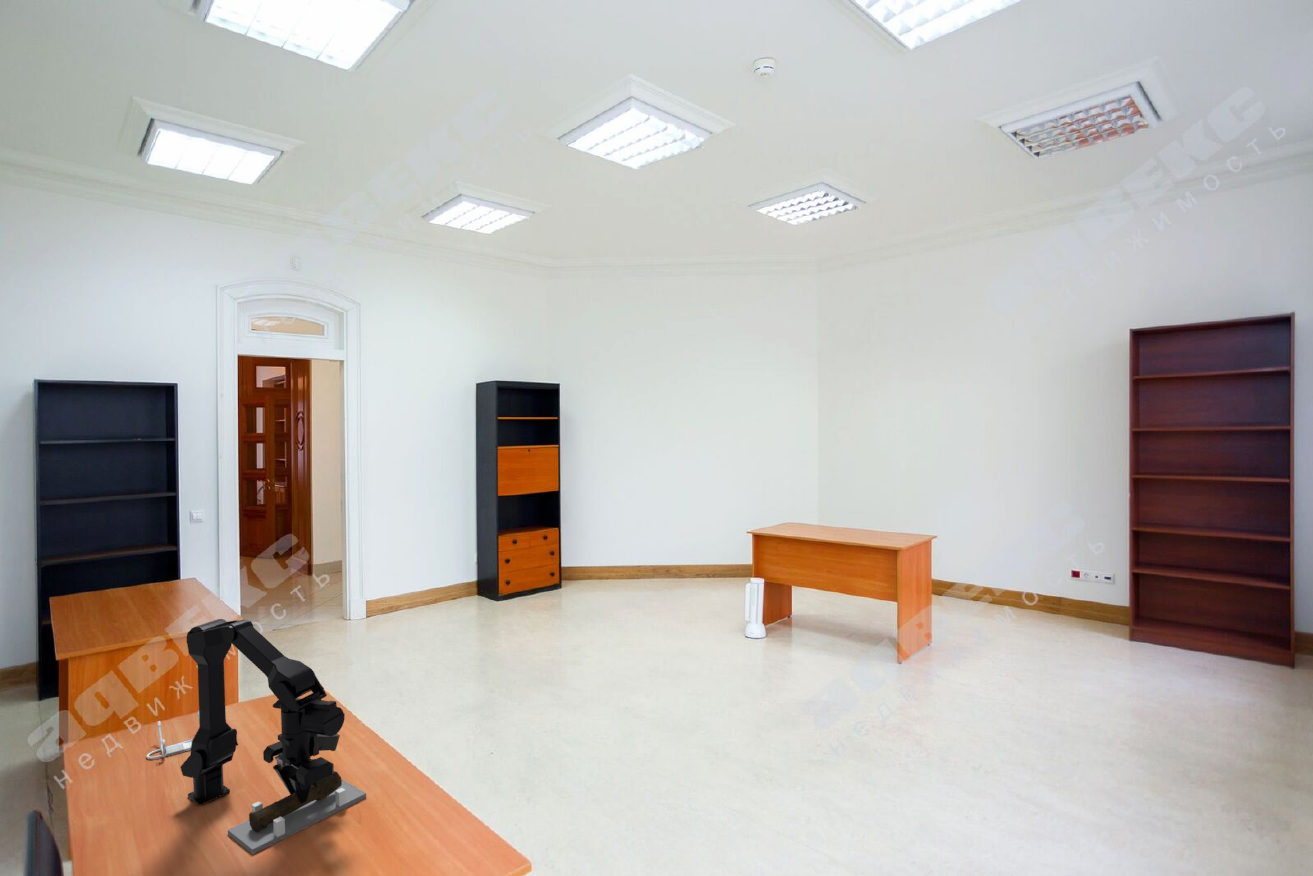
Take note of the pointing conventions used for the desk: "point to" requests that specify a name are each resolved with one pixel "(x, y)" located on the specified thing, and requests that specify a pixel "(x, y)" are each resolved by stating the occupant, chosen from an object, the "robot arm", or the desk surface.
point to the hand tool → (294, 802)
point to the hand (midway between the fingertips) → (299, 799)
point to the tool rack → (294, 819)
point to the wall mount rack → (170, 749)
